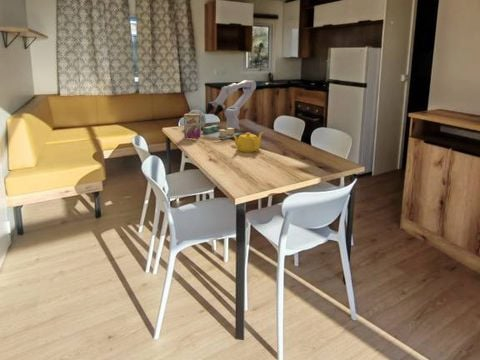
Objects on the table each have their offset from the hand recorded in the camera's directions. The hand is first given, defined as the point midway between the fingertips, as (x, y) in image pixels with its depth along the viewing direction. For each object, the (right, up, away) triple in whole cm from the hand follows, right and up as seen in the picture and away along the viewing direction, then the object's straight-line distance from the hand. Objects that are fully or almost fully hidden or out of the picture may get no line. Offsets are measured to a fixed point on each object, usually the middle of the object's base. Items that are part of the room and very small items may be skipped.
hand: (210, 113), depth 280 cm
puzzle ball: (-13, -9, +21) cm, 26 cm away
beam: (0, -12, +6) cm, 14 cm away
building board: (+6, -15, +2) cm, 16 cm away
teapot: (+26, -30, -39) cm, 56 cm away
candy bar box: (-12, -18, -6) cm, 22 cm away
